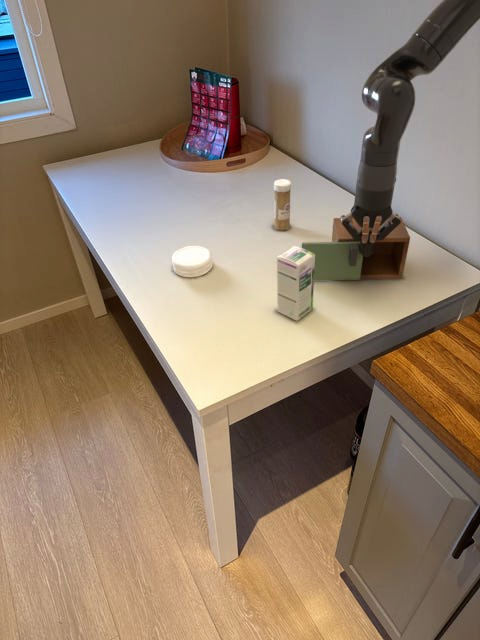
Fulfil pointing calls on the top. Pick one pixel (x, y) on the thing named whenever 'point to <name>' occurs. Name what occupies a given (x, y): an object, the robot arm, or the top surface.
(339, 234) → the cupboard
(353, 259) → the sliding door
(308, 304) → the syrup box
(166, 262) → the top surface
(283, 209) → the sprinkles bottle
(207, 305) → the top surface
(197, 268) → the white short cylinder
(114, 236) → the top surface
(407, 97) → the robot arm
